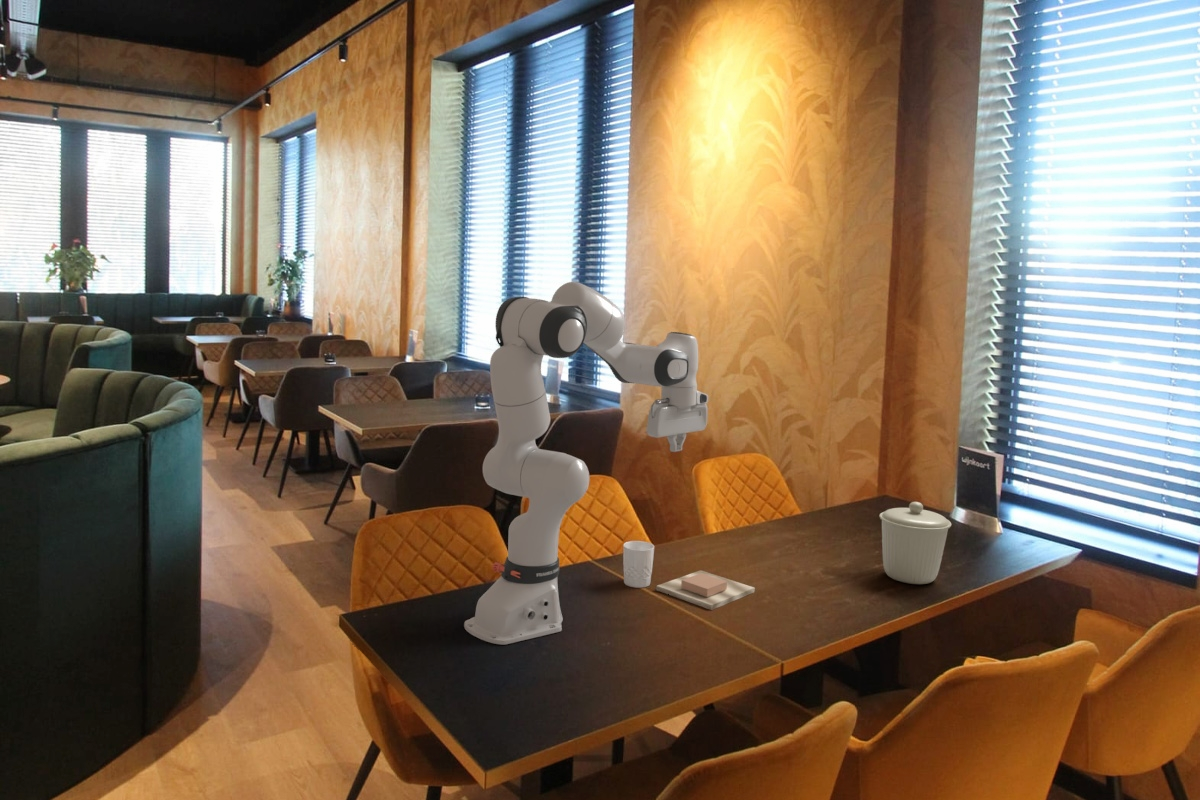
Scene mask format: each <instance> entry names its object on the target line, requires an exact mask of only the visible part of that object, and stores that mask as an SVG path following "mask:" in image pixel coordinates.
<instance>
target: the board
mask: <svg viewBox="0 0 1200 800" xmlns="http://www.w3.org/2000/svg"><path fill="white" fill-rule="evenodd" d="M700 573H702V574H705V575H708V576H711V577H715V578H718V579H721V580H724V581H727V589H726V590H724V591H722V592H719V593H717V594H714V595H711V596H709V597H704V596H701V595H699V594H696V593H693V592H690V591H687V590H684V589H683V588H681V582H682V580H683V579H686V578H689V577H692V576H695V575H697V574H700ZM755 589H756V587H754V586H751V585H747V584H744V583H742V582H738V581H735V580H732V579H729V578H726V577H723V576H719V575H717V574H713V573H710V572H707V571H705V570H700V569H699V570H698V571H694V572H691V573H689V574H686V575H683V576H681V577H677V578H674V579H671V580H669V581H666V582H663V583H660V584H658V585H656V591H657V592H661V593H663V594H666V595H668V594H669V596H671V597H674V598H677V599H679V600H682V601H686V602H688V603H691V604H693V605H696V606H699V607H702V608H704V609H706V610H710V611H713V610H715V609H717V608H720V607H723V606H725V605H727V604H730V603H732V602H734V601H735V602H736V601H737V600H740V599H742V598H744V597H746V596H749V595H752V594H754V593H755Z"/></svg>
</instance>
